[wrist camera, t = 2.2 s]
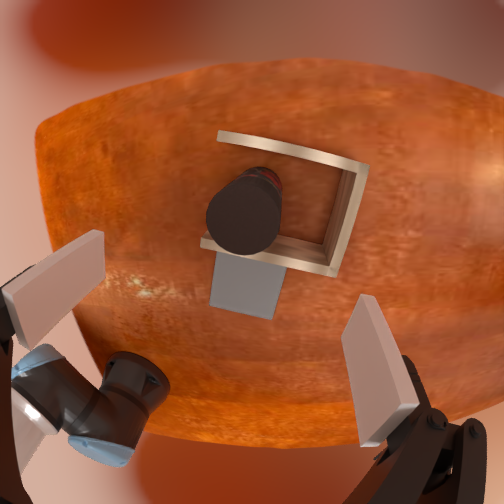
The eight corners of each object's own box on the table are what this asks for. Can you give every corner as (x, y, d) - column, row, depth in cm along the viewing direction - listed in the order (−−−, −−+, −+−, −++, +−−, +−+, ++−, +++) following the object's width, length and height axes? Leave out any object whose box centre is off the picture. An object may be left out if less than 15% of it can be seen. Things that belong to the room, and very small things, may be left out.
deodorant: (230, 174, 35) (196, 196, 22) (274, 161, 34) (268, 174, 20) (244, 216, 37) (219, 262, 24) (287, 204, 36) (288, 246, 22)
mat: (209, 303, 43) (209, 305, 43) (218, 245, 39) (217, 247, 39) (272, 317, 43) (271, 319, 43) (288, 261, 39) (288, 263, 39)
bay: (214, 228, 39) (199, 247, 32) (231, 132, 33) (218, 130, 27) (327, 254, 38) (335, 277, 32) (354, 160, 33) (370, 165, 26)
